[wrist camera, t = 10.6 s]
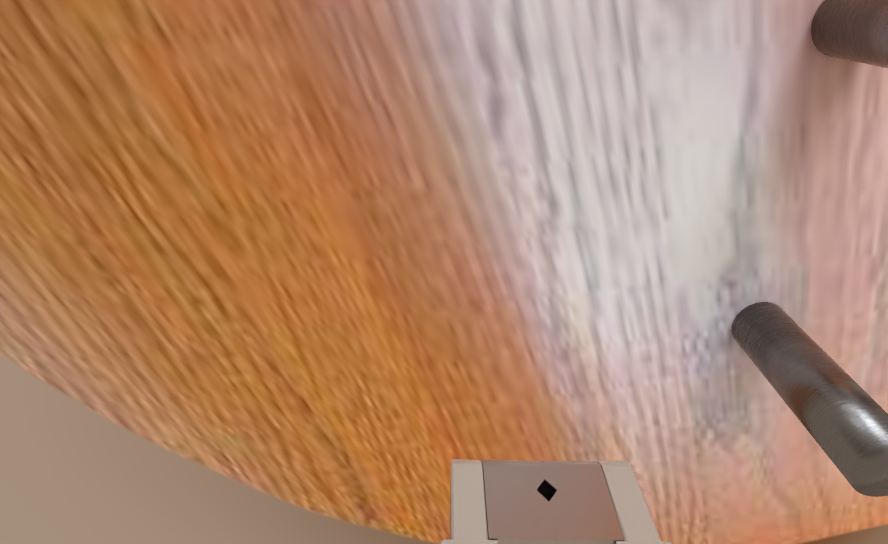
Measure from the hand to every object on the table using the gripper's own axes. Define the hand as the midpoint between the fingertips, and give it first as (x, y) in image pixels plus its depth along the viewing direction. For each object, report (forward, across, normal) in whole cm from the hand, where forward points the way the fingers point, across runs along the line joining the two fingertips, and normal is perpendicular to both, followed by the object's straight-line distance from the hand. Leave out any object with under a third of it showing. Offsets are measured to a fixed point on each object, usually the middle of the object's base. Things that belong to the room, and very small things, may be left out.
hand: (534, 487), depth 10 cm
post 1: (+16, -13, +6) cm, 22 cm away
